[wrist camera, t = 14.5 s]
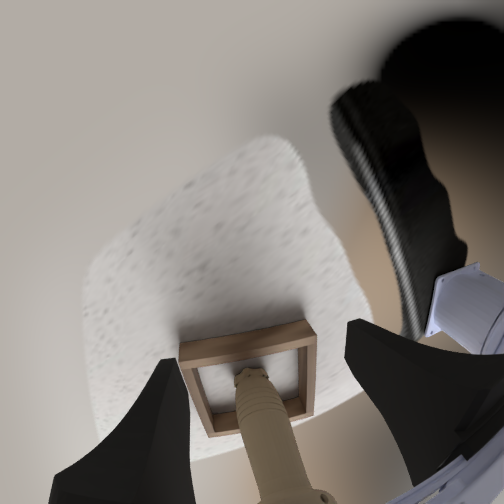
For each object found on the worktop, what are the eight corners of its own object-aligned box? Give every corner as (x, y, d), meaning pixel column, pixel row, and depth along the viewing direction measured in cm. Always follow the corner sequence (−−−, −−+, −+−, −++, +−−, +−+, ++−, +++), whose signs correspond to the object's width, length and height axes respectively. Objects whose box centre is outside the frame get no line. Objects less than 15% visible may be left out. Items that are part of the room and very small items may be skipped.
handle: (242, 345, 22) (293, 510, 8) (291, 374, 24) (354, 505, 10) (207, 378, 23) (229, 532, 9) (257, 403, 25) (298, 531, 11)
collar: (305, 319, 23) (319, 339, 20) (305, 399, 26) (315, 419, 23) (179, 343, 21) (178, 367, 18) (206, 420, 25) (209, 442, 22)
